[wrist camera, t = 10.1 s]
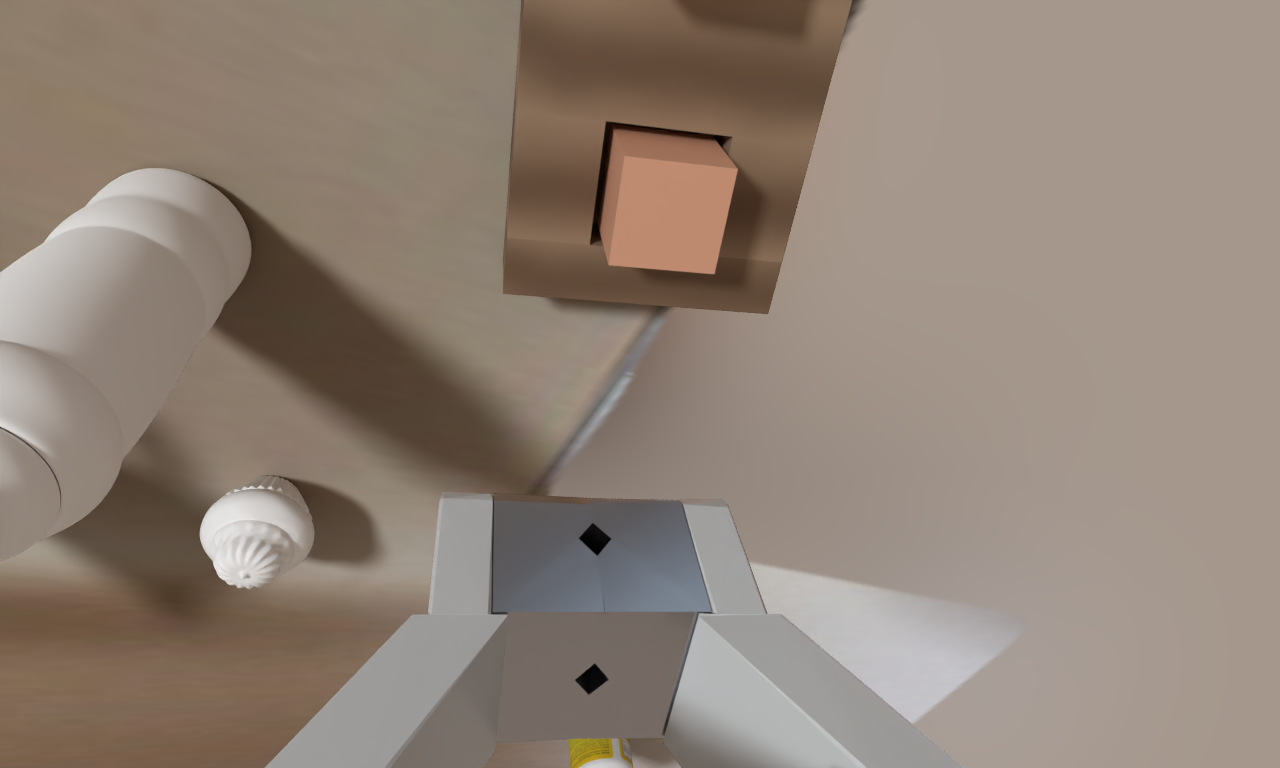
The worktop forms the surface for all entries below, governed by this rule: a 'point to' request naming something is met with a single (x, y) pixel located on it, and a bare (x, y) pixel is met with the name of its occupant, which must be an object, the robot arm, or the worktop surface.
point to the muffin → (257, 532)
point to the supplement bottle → (600, 753)
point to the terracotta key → (664, 199)
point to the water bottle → (104, 339)
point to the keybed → (671, 101)
